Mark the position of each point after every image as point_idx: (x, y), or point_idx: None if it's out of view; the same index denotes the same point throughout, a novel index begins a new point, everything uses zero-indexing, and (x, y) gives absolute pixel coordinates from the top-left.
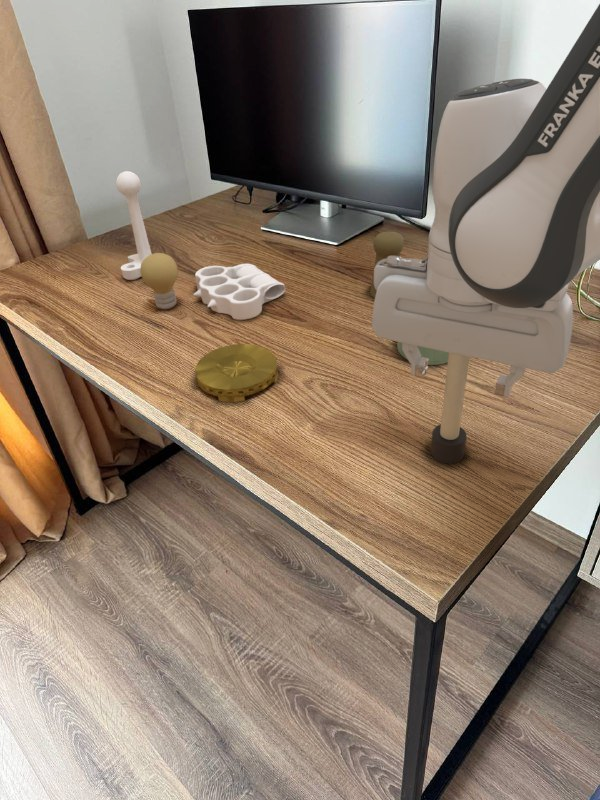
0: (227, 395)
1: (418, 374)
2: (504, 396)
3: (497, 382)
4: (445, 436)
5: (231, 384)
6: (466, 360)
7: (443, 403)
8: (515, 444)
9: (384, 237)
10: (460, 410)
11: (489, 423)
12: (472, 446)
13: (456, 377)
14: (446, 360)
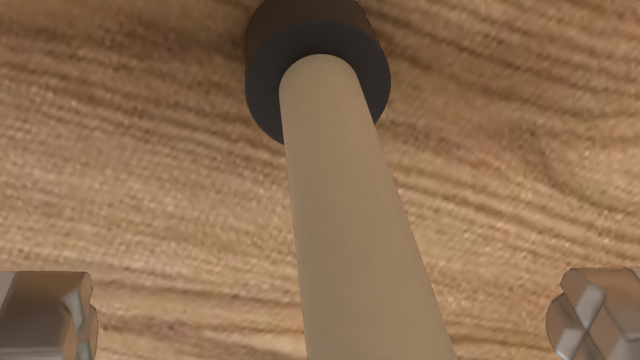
0: None
1: (614, 279)
2: (9, 271)
3: (54, 357)
4: (331, 60)
5: None
6: None
7: (391, 173)
8: (93, 171)
9: None
10: (293, 161)
11: (207, 232)
12: (229, 111)
13: (375, 315)
14: None
